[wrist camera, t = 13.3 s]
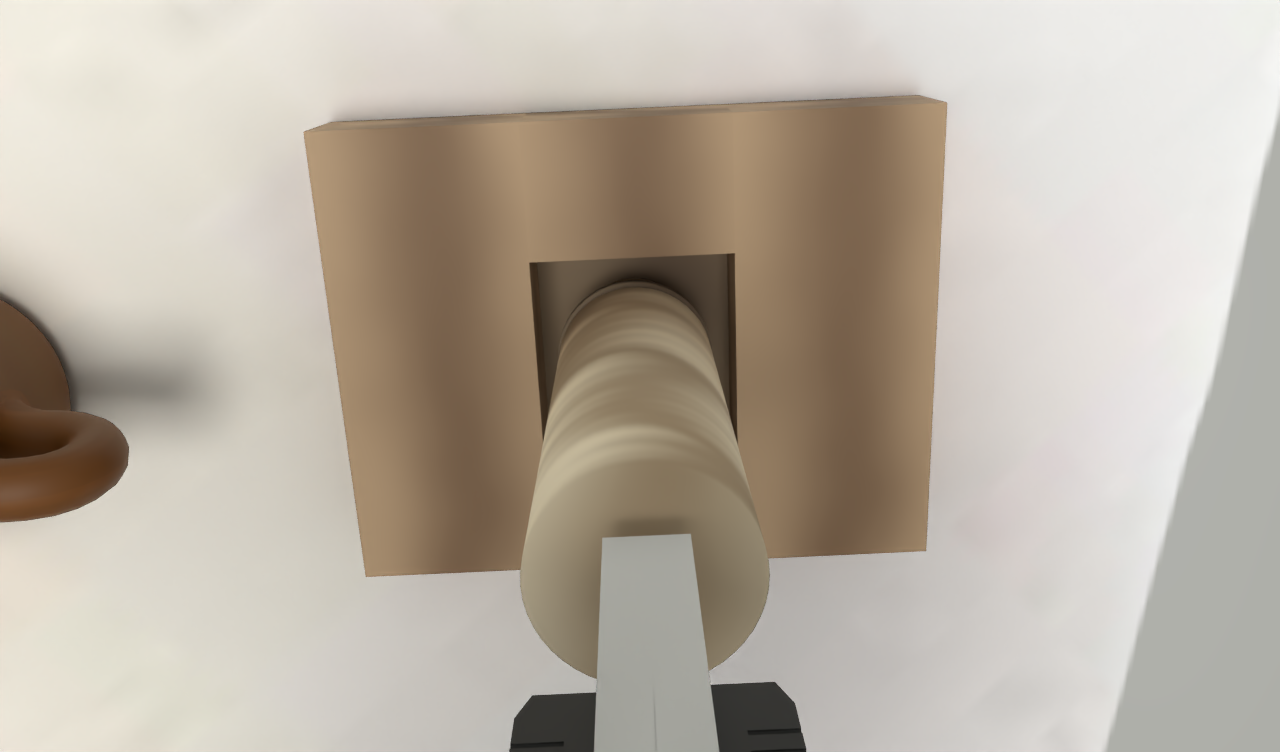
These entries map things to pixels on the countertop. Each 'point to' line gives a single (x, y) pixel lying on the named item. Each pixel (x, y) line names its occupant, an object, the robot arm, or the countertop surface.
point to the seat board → (634, 249)
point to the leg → (639, 471)
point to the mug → (47, 431)
